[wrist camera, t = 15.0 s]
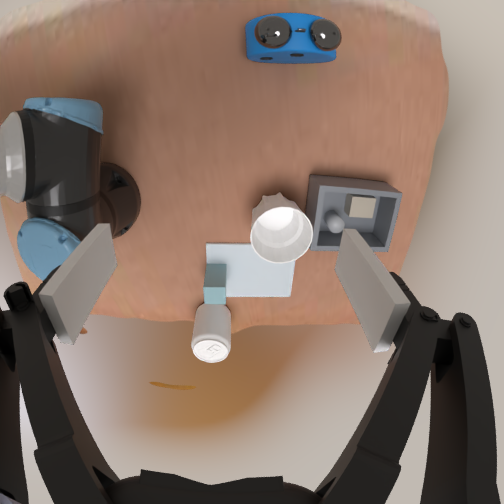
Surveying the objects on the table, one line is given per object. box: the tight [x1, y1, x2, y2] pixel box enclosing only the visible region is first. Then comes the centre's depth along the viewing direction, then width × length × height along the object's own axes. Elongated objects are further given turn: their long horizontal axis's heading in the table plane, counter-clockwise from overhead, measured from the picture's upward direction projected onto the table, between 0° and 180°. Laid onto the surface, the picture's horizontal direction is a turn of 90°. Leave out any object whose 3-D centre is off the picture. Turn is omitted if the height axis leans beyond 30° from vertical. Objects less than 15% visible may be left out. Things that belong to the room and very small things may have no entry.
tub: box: [305, 175, 402, 252], centre depth 51 cm, size 16×12×7 cm
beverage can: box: [191, 303, 231, 363], centre depth 61 cm, size 8×8×12 cm
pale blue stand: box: [203, 243, 295, 304], centre depth 57 cm, size 18×13×9 cm
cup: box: [250, 192, 313, 263], centre depth 50 cm, size 10×10×10 cm
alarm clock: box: [245, 13, 342, 64], centre depth 33 cm, size 13×6×15 cm, turn 93°
